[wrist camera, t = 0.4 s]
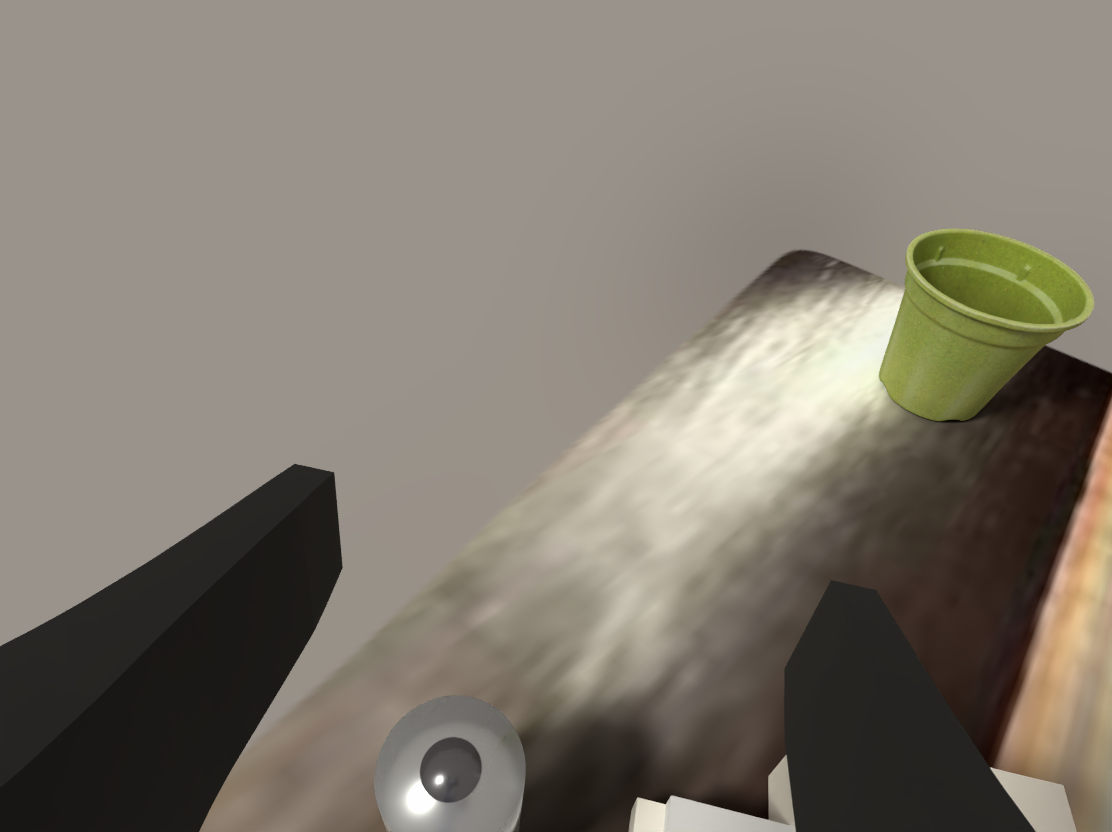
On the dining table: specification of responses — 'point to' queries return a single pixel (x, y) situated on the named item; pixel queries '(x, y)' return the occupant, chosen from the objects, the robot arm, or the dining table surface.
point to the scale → (702, 828)
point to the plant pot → (974, 319)
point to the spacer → (451, 769)
